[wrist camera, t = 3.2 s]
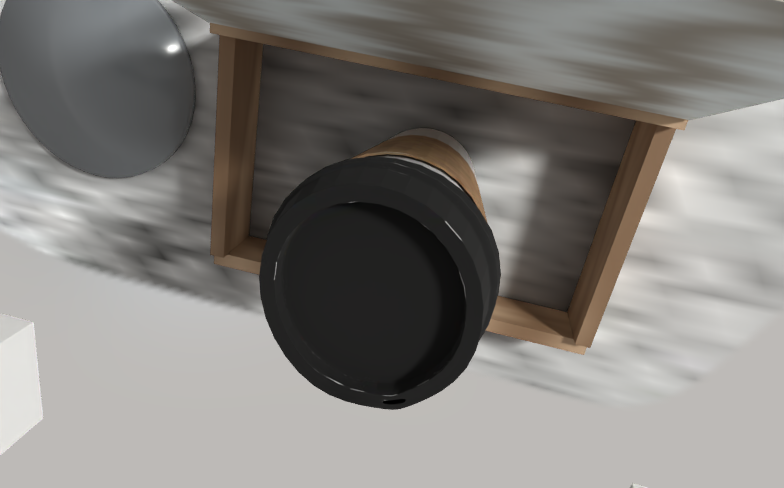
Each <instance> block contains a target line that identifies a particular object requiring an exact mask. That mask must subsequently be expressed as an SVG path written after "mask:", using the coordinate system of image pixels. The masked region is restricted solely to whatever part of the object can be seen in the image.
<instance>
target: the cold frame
mask: <svg viewBox="0 0 784 488" xmlns="http://www.w3.org/2000/svg"><path fill="white" fill-rule="evenodd" d="M172 1H174V2H176V3H177V4H179V5H181V6H182V7H184V8H186V9H187V10H189V11H191V12H192V13H194V14H196V15H197V16H199V17H201V18H202V19H204V20H206V21H207V22H209V23H210V33H213V34H218V35H220V40H219V63H218V86H217V110H216V133H215V156H214V180H213V203H212V226H211V250H210V255H213V256H214V264H218V265H222V266H226V267H230V268H234V269H238V270H242V271H246V272H250V273H254V274H258V275H259V274H260V265H261V257H262V253H263V250H264V247H265V244H266V241H267V240H264V239H260V238H256V237H252V236H249V230H250V216H251V203H252V189H253V176H254V162H255V149H256V135H257V122H258V108H259V95H260V81H261V68H262V54H263V44H267V45H272V46H276V47H281V48H286V49H291V50H296V51H301V52H306V53H311V54H315V55H320V56H325V57H330V58H335V59H340V60H345V61H349V62H354V63H359V64H364V65H369V66H374V67H379V68H384V69H388V70H393V71H398V72H403V73H408V74H413V75H418V76H422V77H427V78H432V79H437V80H442V81H447V82H452V83H457V84H461V85H466V86H471V87H476V88H481V89H486V90H491V91H495V92H500V93H505V94H510V95H515V96H520V97H525V98H530V99H534V100H539V101H544V102H549V103H554V104H559V105H564V106H568V107H573V108H578V109H583V110H588V111H593V112H598V113H603V114H607V115H612V116H617V117H622V118H627V119H632V120H636V122H635V125H634V128H633V130H632V133H631V136H630V139H629V142H628V144H627V147H626V150H625V153H624V155H623V158H622V161H621V164H620V167H619V169H618V172H617V175H616V178H615V180H614V183H613V186H612V189H611V192H610V194H609V197H608V200H607V203H606V205H605V208H604V211H603V214H602V217H601V219H600V222H599V225H598V228H597V230H596V233H595V236H594V239H593V242H592V244H591V247H590V250H589V253H588V256H587V258H586V261H585V264H584V267H583V269H582V272H581V275H580V278H579V281H578V283H577V286H576V289H575V292H574V294H573V297H572V300H571V303H570V306H569V308H568V311H567V312H564V311H560V310H556V309H552V308H547V307H543V306H539V305H535V304H531V303H527V302H522V301H518V300H514V299H510V298H506V297H502V296H498V297H497V300H496V305H495V308H494V311H493V314H492V317H491V320H490V322H489V325H488V327H487V328H486V330H485V331H489V332H493V333H497V334H501V335H505V336H509V337H513V338H517V339H521V340H525V341H530V342H534V343H538V344H542V345H546V346H550V347H554V348H558V349H562V350H566V351H570V352H574V353H578V354H582V355H584V353H585V351H586V348H587V347H588V348H590V347H591V344H592V342H593V339H594V337H595V334H596V332H597V329H598V326H599V324H600V321H601V319H602V316H603V314H604V311H605V309H606V306H607V303H608V301H609V298H610V296H611V293H612V291H613V288H614V286H615V283H616V281H617V278H618V275H619V273H620V270H621V268H622V265H623V263H624V260H625V258H626V255H627V253H628V250H629V247H630V245H631V242H632V240H633V237H634V235H635V232H636V230H637V227H638V224H639V222H640V219H641V217H642V214H643V212H644V209H645V207H646V204H647V202H648V199H649V196H650V194H651V191H652V189H653V186H654V184H655V181H656V179H657V176H658V174H659V171H660V168H661V166H662V163H663V161H664V158H665V156H666V153H667V151H668V148H669V145H670V143H671V140H672V138H673V135H674V133H675V130H676V129H680V130H685V127H686V125H687V122H688V120H693V119H697V118H702V117H706V116H710V115H715V114H719V113H724V112H728V111H732V110H737V109H741V108H745V107H750V106H754V105H758V104H763V103H767V102H771V101H776V100H780V99H784V0H172Z"/></svg>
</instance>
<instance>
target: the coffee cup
mask: <svg viewBox="0 0 784 488" xmlns="http://www.w3.org/2000/svg"><path fill="white" fill-rule="evenodd" d="M500 277H501V271H500V260H499V251H498V248H497V245H496V242H495V239H494V236H493V233H492V230H491V228H490V227H489V225H488V223H487V220H486V216H485V212H484V208H483V204H482V200H481V196H480V192H479V188H478V184H477V181H476V174H475V169H474V166H473V163H472V160H471V158H470V157H469V155H468V153H467V151H466V150H465V149H464V148H463V146H462V145H461V144H460V143H459V142H458V141H456V140H455V139H454V138H453V137H451V136H450V135H447V134H445V133H443V132H441V131H438V130H434V129H428V128H417V129H410V130H407V131H404V132H401V133H399V134H397V135H396V136H394V137H392V138H391V139H389V140H387V141H384V142H382V143H380V144H379V145H377V146H375V147H373V148H371V149H369V150H367V151H365V152H363V153H361V154H359V155H357V156H355V157H353V158H351V159H347V160H344V161H341V162H339V163H336V164H333V165H330V166H327V167H325V168H323V169H322V170H320V171H318V172H317V173H315V174H313V175H312V176H310V177H308V178H307V179H306V180H305V181H304V182H302V183H301V184H300V185H299V186H298V187H297V188H296V189H295V190H294V191H293V192H292V193H291V194H290V195H289V196H287V197H286V199H285V200H284V202H283V203H282V205H281V207H280V208H279V210H278V211H277V213H276V214H275V216H274V219H273V221H272V224H271V227H270V230H269V233H268V235H267V241H266V244H265V247H264V250H263V253H262V257H261V265H260V274H259V280H260V294H261V300H262V304H263V308H264V313H265V317H266V319H267V322H268V324H269V327H270V329H271V331H272V333H273V336H274V338H275V340H276V341H277V343H278V345H279V346H280V348H281V350H282V351H283V353H284V355H285V356H286V357H287V359H288V360H289V361H290V362H291V363H292V365H293V366H294V367H295V368H296V370H297V371H298V372H299V373H300V374H302V376H304V377H305V378H306V379H307V380H308V381H309V382H310V383H312V384H313V385H314V386H316V387H317V388H319V389H321V390H322V391H324V392H326V393H327V394H329V395H331V396H334V397H336V398H339V399H342V400H344V401H347V402H351V403H355V404H358V405H363V406H369V407H374V408H381V409H392V410H393V409H401V408H405V407H408V406H411V405H413V404H416V403H418V402H421V401H423V400H425V399H427V398H429V397H431V396H433V395H435V394H437V393H439V392H440V391H442V390H443V389H445V388H446V387H447V386H449V385H450V384H451V383H453V382H454V381H455V380H456V379H457V378H458V376H460V375H461V373H462V372H463V371H464V370H465V369H466V368H467V366H468V364H469V362H470V360H471V359H472V357H473V355H474V353H475V351H476V348H477V345H478V342H479V340H480V338H481V337H482V335H483V333H484V332H485V330H486V328H487V327H488V325H489V322H490V320H491V317H492V314H493V311H494V308H495V305H496V300H497V297H498V293H499V285H500Z"/></svg>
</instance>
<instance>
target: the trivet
mask: <svg viewBox="0 0 784 488" xmlns="http://www.w3.org/2000/svg"><path fill="white" fill-rule="evenodd" d="M0 69H1V73H2V76H3V80H4V84H5V86H6V89H7V91H8V94H9V97H10V99H11V101H12V103H13V105H14V107H15V109H16V110H17V112H18V114H19V115H20V117H21V118H22V120H23V122H24V123H25V124H26V126H27V127H28V128H29V130H30V131H31V132H32V133H33V135H34V136H35V137H36V138H37V139H38V140H39V141H40V142H41V143H42V144H43V145H44V146H45V147H46V148H47V149H48V150H50V151H51V152H52V153H53V154H55V155H56V156H57V157H59V158H60V159H61V160H63V161H65V162H66V163H68V164H70V165H71V166H73V167H75V168H78V169H80V170H82V171H84V172H87V173H90V174H94V175H97V176H103V177H110V178H123V177H132V176H135V175H139V174H142V173H145V172H147V171H149V170H151V169H154V168H156V167H158V166H159V165H161V164H162V163H164V162H165V161H167V160H168V159H169V158H170V157H171V156H172V155H173V154H174V153H175V152H176V151H177V149H178V148H179V147H180V145H181V144H182V142H183V140H184V139H185V137H186V135H187V133H188V130H189V127H190V125H191V121H192V117H193V113H194V105H195V81H194V74H193V68H192V64H191V60H190V56H189V53H188V50H187V48H186V45H185V42H184V40H183V38H182V36H181V34H180V32H179V30H178V28H177V26H176V24H175V23H174V21H173V20H172V18H171V17H170V15H169V13H168V12H167V11H166V10H165V8H164V7H163V6H162V5H161V3H160V2H159V1H158V0H6V2H5V4H4V7H3V10H2V13H1V17H0Z"/></svg>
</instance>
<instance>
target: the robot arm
mask: <svg viewBox="0 0 784 488" xmlns="http://www.w3.org/2000/svg"><path fill="white" fill-rule="evenodd" d="M42 419H43V409H42V399H41V389H40V380H39V371H38V361H37V351H36V342H35V332H34V322H32V321H28V320H24V319H21V318H16V317H13V316H9V315H6V314H1V315H0V455H1V454H2V453H4V452H5V451H6V450H7V449H8V448H9V447H11V446H12V445H13V444H14V443H15V442H16V441H18V440H19V439H20V438H21V437H22V436H23V435H24V434H26V433H27V432H28V431H29V430H30V429H31V428H33V427H34V426H35V425H36V424H37V423H38V422H40V421H41V420H42ZM630 488H648V487H644V486H640V485H636V484H632V485H631V487H630Z"/></svg>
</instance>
